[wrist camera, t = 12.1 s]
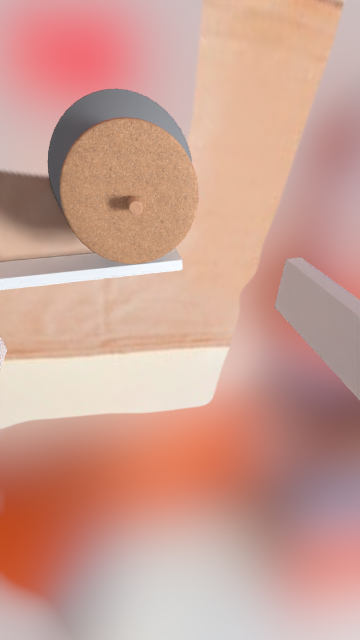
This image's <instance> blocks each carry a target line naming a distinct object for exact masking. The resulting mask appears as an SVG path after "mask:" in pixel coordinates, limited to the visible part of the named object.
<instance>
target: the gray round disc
mask: <svg viewBox="0 0 360 640" xmlns="http://www.w3.org/2000/svg"><path fill="white" fill-rule="evenodd" d="M122 117H130V118H137V119H142V120H145V121H148V122H151V123H153V124H155V125H157V126H159V127H161V128H163V129H164V130H165V131H167V132H168V133H169V134H171V135H172V136H173V137H174V138H175V139H176V140H177V141H178V142H179V143H180V144H181V146H182V147H183V149H184V150H185V152H186V153H187V155H188V156H189V158H190V160H191V163H192V159H191V154H190V150H189V147H188V144H187V142H186V139H185V137H184V135H183V133H182V131H181V129H180V128H179V126H178V125H177V123H176V122H175V120H174V119H173V118H172V117H171V116H170V115H169V114H168V112H167V111H166V110H164V109H163V108H162V107H161V106H160V105H159V104H157V103H156V102H154V101H153V100H151V99H149V98H148V97H146V96H143V95H141V94H139V93H136V92H132V91H128V90H122V89H107V90H101V91H97V92H93V93H91V94H89V95H87V96H84V97H83V98H81V99H80V100H78V101H77V102H75V103H74V104H73V105H72V106H71V107H70V108H69V109H67V111H66V112H65V113H64V115H63V116H62V117H61V118H60V120H59V122H58V124H57V125H56V127H55V129H54V132H53V135H52V138H51V141H50V146H49V151H48V173H49V178H50V183H51V187H52V190H53V193H54V195H55V198H56V200H57V202H58V204H59V206H60V207H61V209H62V205H61V200H60V192H59V188H60V175H61V170H62V166H63V163H64V160H65V158H66V155H67V153H68V152H69V150H70V148H71V147H72V145H73V143H74V142H75V141H76V140H77V139H78V138H79V137H80V135H81V134H82V133H84V132H85V131H86V130H88V129H89V128H90V127H92V126H94V125H96V124H98V123H100V122H102V121H105V120H109V119H112V118H122ZM62 211H63V209H62Z"/></svg>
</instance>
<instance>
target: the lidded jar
mask: <svg viewBox="0 0 360 640" xmlns="http://www.w3.org/2000/svg"><path fill="white" fill-rule="evenodd" d="M59 192H60V200H61V205H62V209H63V212H64V215H65V217H66V220H67V222H68V224H69V226H70V227H71V229H72V230H73V232H74V234H75V235H76V236H77V237H78V238H79V240H80V241H81V242H82V243H83V244H84V245H85V246H87V247H88V248H89V249H90V250H91V251H93V252H95V253H96V254H98V255H99V256H101V257H104V258H106V259H108V260H111V261H114V262H118V263H124V264H140V263H147V262H150V261H153V260H156V259H158V258H160V257H163V256H164V255H166V254H168V253H169V252H171V251H172V250H173V249H174V248H175V247H176V246H178V245H179V243H180V242H181V241H182V240H183V239H184V238H185V236H186V235H187V233H188V231H189V230H190V228H191V226H192V223H193V221H194V218H195V215H196V211H197V205H198V184H197V177H196V174H195V170H194V167H193V165H192V163H191V160H190V158H189V156H188V155H187V153H186V152H185V150H184V149H183V147H182V146H181V144H180V143H179V142H178V141H177V140H176V139H175V138H174V137H173V136H172V135H171V134H169V133H168V132H167V131H165V130H164V129H163V128H161V127H159V126H157V125H155V124H153V123H151V122H148V121H145V120H142V119H137V118H130V117H122V118H112V119H109V120H105V121H102V122H100V123H98V124H96V125H94V126H92V127H90V128H89V129H88V130H86V131H85V132H84V133H82V134H81V135H80V137H79V138H78V139H77V140H76V141H75V142H74V143H73V145H72V147H71V148H70V150H69V152H68V153H67V155H66V158H65V160H64V163H63V166H62V170H61V175H60V188H59Z"/></svg>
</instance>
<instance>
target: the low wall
mask: <svg viewBox="0 0 360 640" xmlns="http://www.w3.org/2000/svg"><path fill="white" fill-rule="evenodd" d="M177 270H182V258H181V257H180V255H179V253H178V251H177V250H176V248H174V249H173V250H172V251H171V252H169V253H168V254H166V255H164V256H163V257H160V258H158V259H156V260H153V261H150V262H147V263H140V264H124V263H118V262H114V261H111V260H108V259H106V258H104V257H101V256H99V255H98V254H96V253H90V254H80V255H69V256H58V257H47V258H37V259H26V260H15V261H5V262H0V290H5V289H15V288H24V287H33V286H42V285H51V284H60V283H69V282H78V281H87V280H96V279H105V278H114V277H123V276H132V275H141V274H150V273H159V272H168V271H177Z"/></svg>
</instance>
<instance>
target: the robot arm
mask: <svg viewBox="0 0 360 640" xmlns="http://www.w3.org/2000/svg"><path fill="white" fill-rule="evenodd" d="M275 308H276V309H277V310H278V311H279V312H280V313H281V314H282V316H283V317H284V318H285V319H286V320H287V321H288V322H289V323H290V324H291V326H292V327H293V328H294V329H295V330H296V331H297V332H298V333H299V334H300V335H301V336H302V338H303V339H304V340H305V341H306V342H307V343H308V344H309V345H310V346H311V347H312V349H314V351H315V352H316V353H317V354H318V355H319V356H320V357H321V358H322V359H323V361H325V363H326V364H327V365H328V366H329V367H330V368H331V369H332V370H333V372H334V373H335V374H336V375H337V376H338V377H339V378H340V379H341V380H342V381H343V383H344V384H345V385H346V386H347V387H348V388H349V389H350V390H351V391H352V392H353V393H354V395H355V396H356V397H357V398H358V399H359V400H360V300H359V299H358V298H356V297H355V296H353V295H352V294H351V293H349V292H348V291H346V290H345V289H344V288H342V287H341V286H339V285H338V284H337V283H335V282H334V281H333V280H331V279H330V278H328V277H327V276H326V275H324V274H323V273H322V272H320V271H319V270H317V269H316V268H315V267H313V266H312V265H310V264H309V263H308V262H306V261H305V260H304V259H302V258H301V257H299V258H291V259H286V262H285V266H284V270H283V275H282V279H281V283H280V287H279V291H278V295H277V299H276V303H275ZM6 352H7V349H6V347H5V345H4V343H3V341H2V339H1V337H0V369H1V366H2V363H3V360H4V358H5V355H6Z"/></svg>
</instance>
